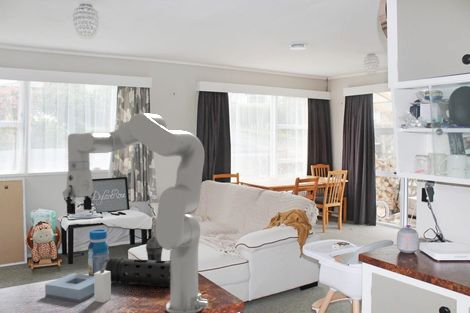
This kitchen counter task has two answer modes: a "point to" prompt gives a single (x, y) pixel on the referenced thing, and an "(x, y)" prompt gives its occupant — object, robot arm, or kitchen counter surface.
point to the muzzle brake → (139, 271)
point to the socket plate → (71, 288)
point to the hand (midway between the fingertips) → (79, 211)
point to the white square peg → (102, 285)
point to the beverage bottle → (97, 251)
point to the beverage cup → (154, 249)
